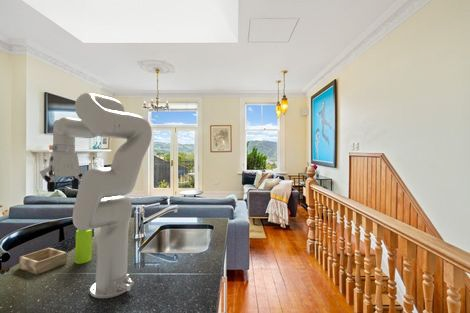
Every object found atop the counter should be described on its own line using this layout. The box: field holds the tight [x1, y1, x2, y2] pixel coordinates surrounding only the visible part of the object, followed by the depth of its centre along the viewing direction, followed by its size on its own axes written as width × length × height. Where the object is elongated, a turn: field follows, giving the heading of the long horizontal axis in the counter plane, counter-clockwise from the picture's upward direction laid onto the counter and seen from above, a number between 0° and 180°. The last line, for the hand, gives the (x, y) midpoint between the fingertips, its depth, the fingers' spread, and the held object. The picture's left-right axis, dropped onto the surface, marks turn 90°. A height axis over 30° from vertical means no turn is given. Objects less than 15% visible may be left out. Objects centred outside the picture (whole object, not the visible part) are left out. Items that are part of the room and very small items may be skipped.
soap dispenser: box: [74, 229, 93, 265], centre depth 101 cm, size 6×7×20 cm
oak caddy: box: [18, 247, 68, 275], centre depth 96 cm, size 12×11×4 cm
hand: (63, 190), depth 100 cm, fingers open, 9 cm apart
